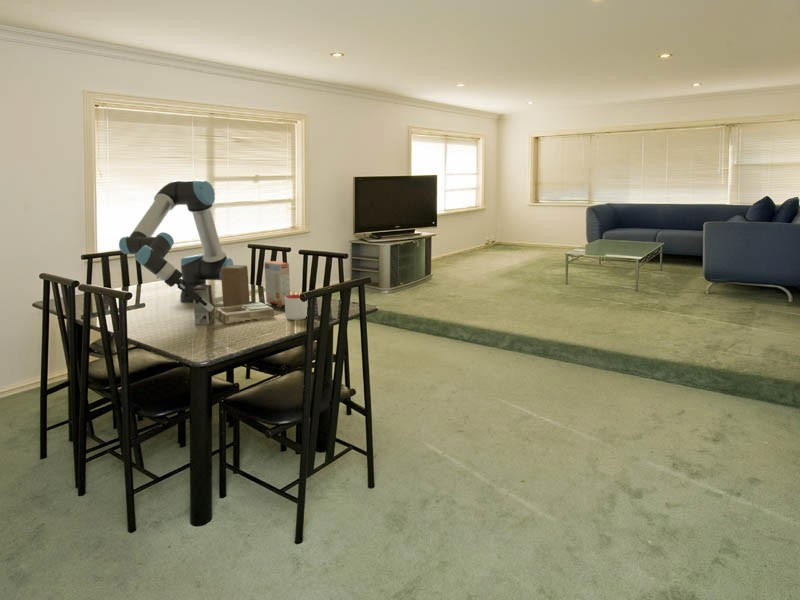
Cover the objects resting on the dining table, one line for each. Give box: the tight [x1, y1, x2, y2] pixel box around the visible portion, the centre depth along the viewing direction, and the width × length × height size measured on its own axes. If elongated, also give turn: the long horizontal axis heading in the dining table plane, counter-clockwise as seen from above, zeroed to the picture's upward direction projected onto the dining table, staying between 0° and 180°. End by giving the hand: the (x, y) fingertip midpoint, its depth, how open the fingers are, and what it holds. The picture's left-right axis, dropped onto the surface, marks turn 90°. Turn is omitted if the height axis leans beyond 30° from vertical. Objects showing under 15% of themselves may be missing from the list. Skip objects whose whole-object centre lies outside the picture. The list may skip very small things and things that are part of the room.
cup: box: [284, 293, 308, 321], centre depth 264 cm, size 10×10×10 cm
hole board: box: [214, 301, 275, 324], centre depth 268 cm, size 17×22×4 cm
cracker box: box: [264, 260, 291, 306], centre depth 295 cm, size 14×6×21 cm, turn 45°
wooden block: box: [220, 264, 251, 307], centre depth 289 cm, size 10×10×20 cm
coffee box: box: [192, 284, 215, 325], centre depth 258 cm, size 9×6×16 cm
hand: (210, 307), depth 259 cm, fingers closed on coffee box, 10 cm apart
